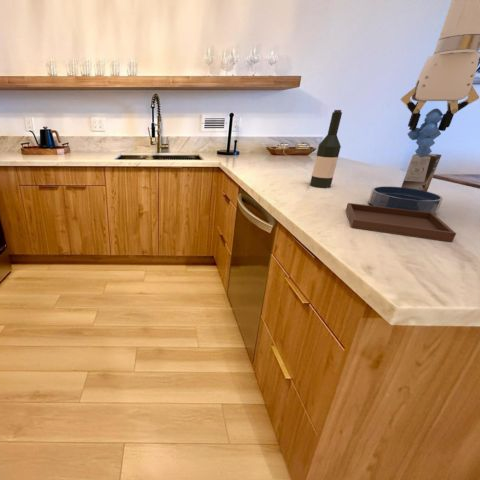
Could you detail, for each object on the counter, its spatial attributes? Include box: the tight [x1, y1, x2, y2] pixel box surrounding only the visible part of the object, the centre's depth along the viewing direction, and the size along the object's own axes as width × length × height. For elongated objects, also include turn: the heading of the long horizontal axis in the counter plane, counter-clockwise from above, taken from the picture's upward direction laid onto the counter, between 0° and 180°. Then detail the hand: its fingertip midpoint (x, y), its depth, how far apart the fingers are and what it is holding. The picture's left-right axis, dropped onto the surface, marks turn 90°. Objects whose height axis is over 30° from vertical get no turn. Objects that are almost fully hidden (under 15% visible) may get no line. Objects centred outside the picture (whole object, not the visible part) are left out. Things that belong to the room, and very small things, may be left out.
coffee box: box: [400, 153, 442, 192], centre depth 101 cm, size 9×6×16 cm
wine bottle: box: [309, 109, 343, 189], centre depth 118 cm, size 8×8×30 cm
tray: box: [345, 202, 457, 243], centre depth 82 cm, size 22×18×2 cm
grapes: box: [407, 107, 444, 158], centre depth 75 cm, size 12×7×12 cm, turn 140°
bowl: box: [368, 185, 444, 215], centre depth 96 cm, size 18×18×5 cm
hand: (426, 129), depth 75 cm, fingers closed on grapes, 5 cm apart
